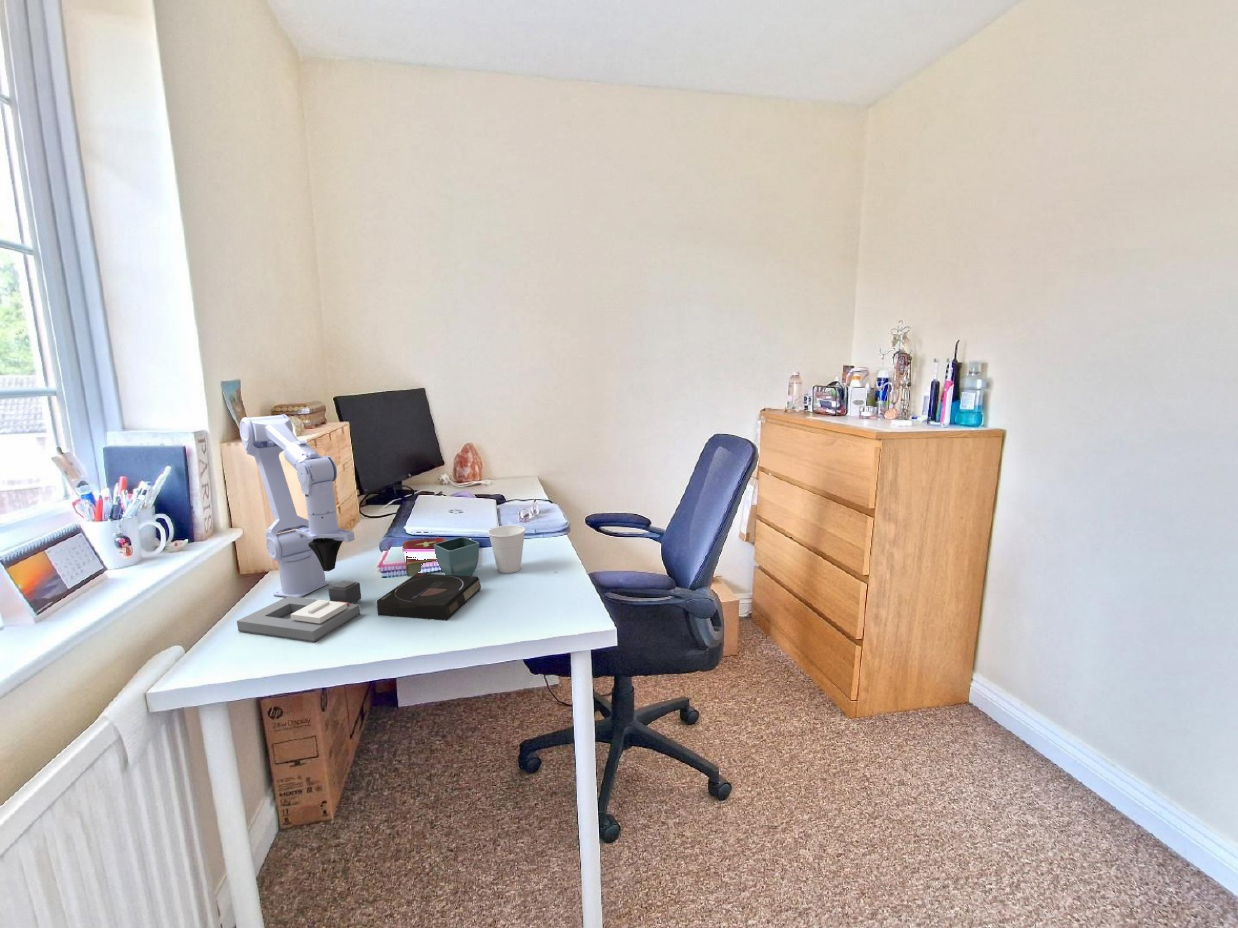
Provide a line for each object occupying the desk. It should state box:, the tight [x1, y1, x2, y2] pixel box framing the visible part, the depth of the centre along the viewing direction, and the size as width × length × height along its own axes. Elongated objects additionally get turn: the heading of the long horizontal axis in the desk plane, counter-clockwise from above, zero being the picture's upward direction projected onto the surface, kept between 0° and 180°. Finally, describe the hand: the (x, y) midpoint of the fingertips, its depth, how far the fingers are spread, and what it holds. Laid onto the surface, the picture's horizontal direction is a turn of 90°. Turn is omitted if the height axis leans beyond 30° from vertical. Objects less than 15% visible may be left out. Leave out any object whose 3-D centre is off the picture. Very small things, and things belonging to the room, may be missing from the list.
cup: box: [487, 524, 527, 574], centre depth 148 cm, size 10×10×11 cm
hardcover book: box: [402, 537, 447, 577], centre depth 158 cm, size 12×21×4 cm, turn 23°
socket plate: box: [236, 596, 362, 643], centre depth 121 cm, size 13×20×3 cm, turn 74°
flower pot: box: [434, 536, 480, 576], centre depth 145 cm, size 9×9×9 cm
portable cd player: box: [376, 573, 482, 621], centre depth 130 cm, size 16×17×4 cm
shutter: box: [291, 599, 347, 623], centre depth 119 cm, size 8×8×2 cm
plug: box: [328, 580, 362, 604], centre depth 129 cm, size 5×5×5 cm
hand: (329, 569), depth 126 cm, fingers closed
